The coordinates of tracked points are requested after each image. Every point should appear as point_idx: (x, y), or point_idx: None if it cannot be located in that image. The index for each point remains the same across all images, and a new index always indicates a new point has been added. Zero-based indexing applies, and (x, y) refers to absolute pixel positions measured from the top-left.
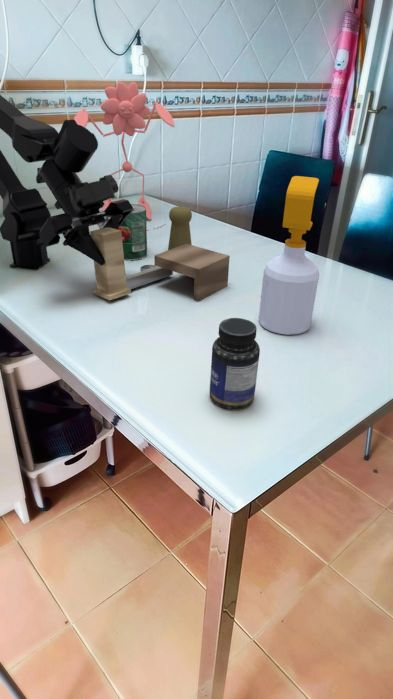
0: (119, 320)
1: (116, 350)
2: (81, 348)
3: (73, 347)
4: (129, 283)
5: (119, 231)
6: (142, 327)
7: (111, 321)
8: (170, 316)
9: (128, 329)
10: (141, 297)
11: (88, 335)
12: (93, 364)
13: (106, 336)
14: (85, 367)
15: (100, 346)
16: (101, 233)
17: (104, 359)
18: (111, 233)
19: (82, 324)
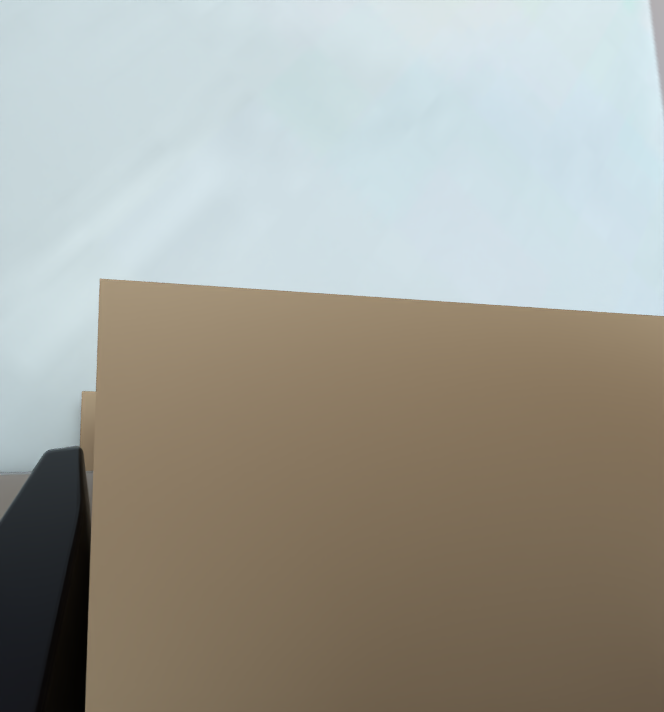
0: (364, 193)
1: (517, 18)
2: (613, 134)
3: (633, 164)
4: (19, 473)
5: (179, 288)
6: (317, 52)
7: (403, 217)
8: (100, 5)
9: (383, 93)
10: (28, 338)
11: (551, 193)
12: (620, 24)
13: (496, 126)
14: (646, 33)
15: (551, 88)
16: (661, 475)
17: (579, 14)
18: (467, 306)
19: (529, 298)
